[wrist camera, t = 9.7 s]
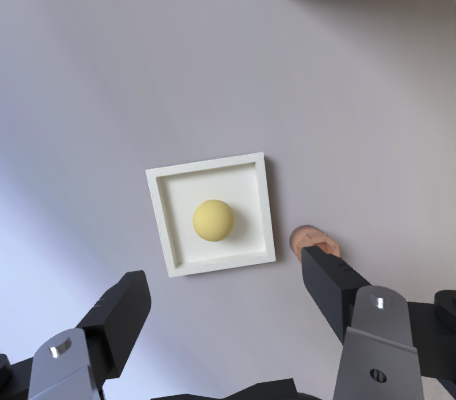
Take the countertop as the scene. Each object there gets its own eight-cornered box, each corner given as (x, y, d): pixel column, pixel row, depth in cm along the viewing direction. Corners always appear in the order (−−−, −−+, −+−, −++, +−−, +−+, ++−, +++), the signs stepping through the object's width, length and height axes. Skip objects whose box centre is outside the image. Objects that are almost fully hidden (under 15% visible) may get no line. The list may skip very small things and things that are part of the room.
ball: (192, 199, 27) (185, 207, 23) (230, 193, 27) (232, 200, 23) (198, 235, 28) (194, 251, 23) (236, 230, 28) (239, 245, 23)
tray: (151, 169, 28) (145, 169, 25) (259, 152, 28) (263, 151, 25) (173, 267, 30) (169, 277, 28) (271, 252, 30) (275, 261, 28)
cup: (287, 227, 30) (300, 240, 25) (320, 222, 30) (338, 234, 25) (291, 258, 30) (303, 275, 26) (322, 253, 31) (340, 269, 26)
